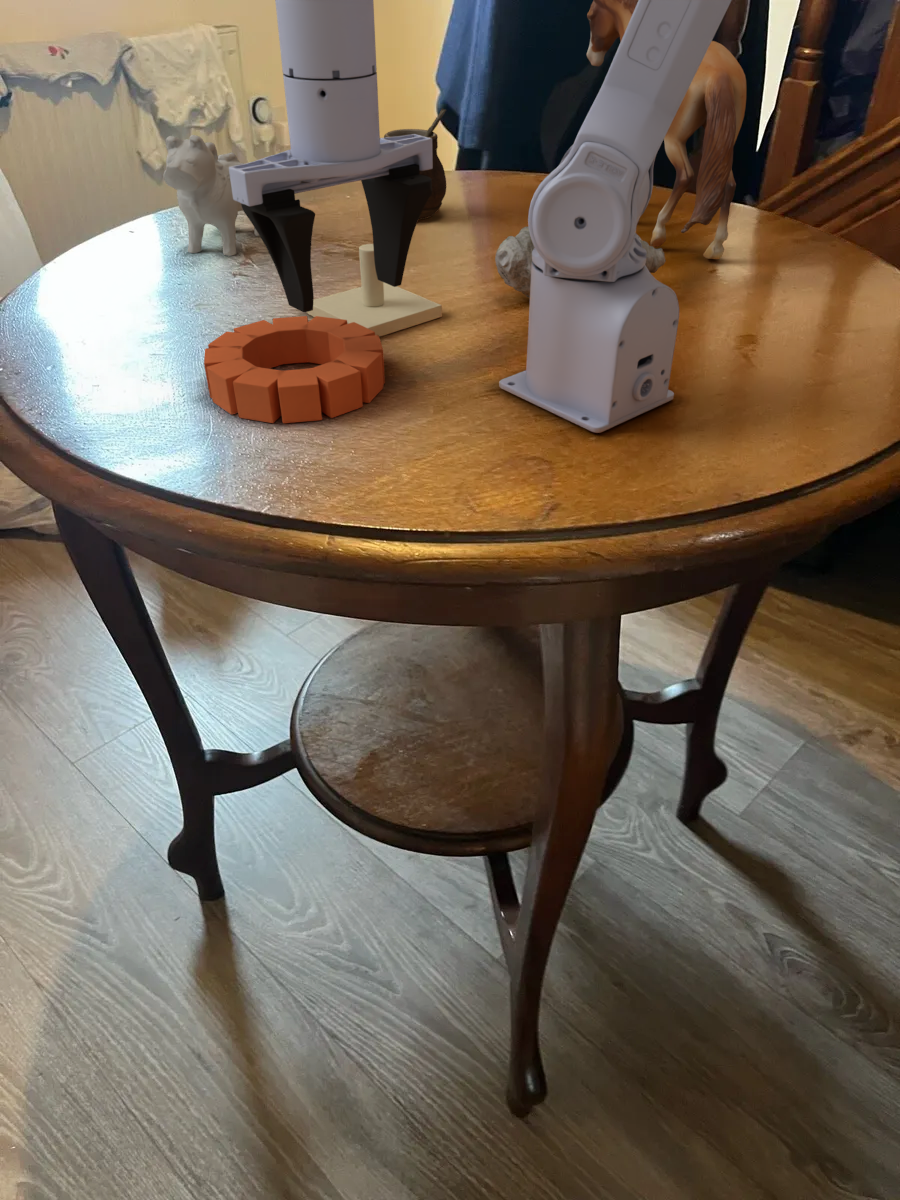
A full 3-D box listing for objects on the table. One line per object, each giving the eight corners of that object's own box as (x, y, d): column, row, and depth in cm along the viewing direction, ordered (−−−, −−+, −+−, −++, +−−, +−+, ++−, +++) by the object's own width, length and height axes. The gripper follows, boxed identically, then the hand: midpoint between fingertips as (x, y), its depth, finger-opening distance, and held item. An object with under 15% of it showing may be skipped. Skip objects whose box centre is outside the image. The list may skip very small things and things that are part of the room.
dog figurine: (165, 265, 85) (140, 141, 78) (225, 226, 95) (207, 112, 88) (217, 269, 84) (195, 144, 77) (272, 229, 93) (257, 115, 87)
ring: (418, 386, 63) (416, 351, 62) (269, 441, 57) (263, 403, 56) (321, 336, 71) (317, 304, 69) (179, 380, 65) (172, 345, 63)
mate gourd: (366, 213, 98) (360, 110, 92) (422, 201, 102) (420, 102, 95) (403, 228, 93) (400, 121, 87) (461, 215, 97) (461, 112, 91)
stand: (442, 316, 74) (441, 248, 70) (363, 342, 70) (358, 270, 66) (383, 291, 79) (380, 226, 75) (306, 313, 75) (299, 245, 71)
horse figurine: (568, 198, 102) (583, -21, 90) (632, 194, 104) (656, -23, 91) (681, 290, 78) (723, 10, 66) (762, 283, 80) (819, 6, 67)
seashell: (679, 274, 73) (650, 174, 70) (525, 341, 76) (489, 248, 72) (662, 264, 79) (634, 172, 76) (519, 327, 81) (485, 240, 78)
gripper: (385, 54, 61) (393, 259, 69) (191, 77, 53) (226, 303, 62) (452, 66, 57) (452, 282, 65) (252, 93, 49) (281, 333, 58)
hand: (346, 294), depth 63 cm, fingers open, 7 cm apart
